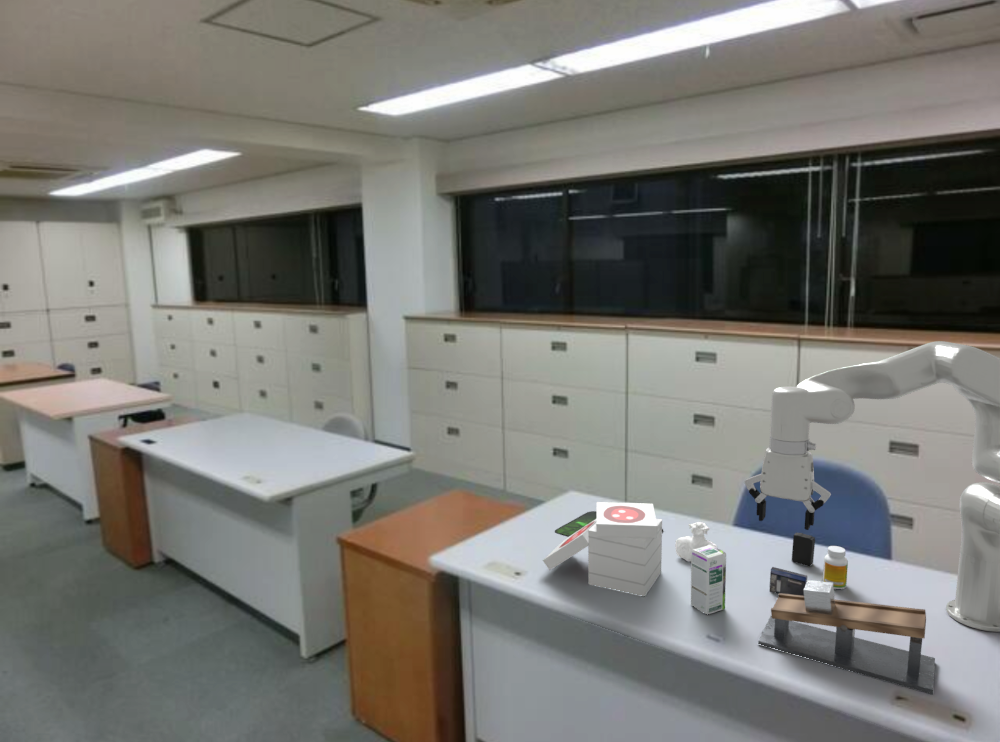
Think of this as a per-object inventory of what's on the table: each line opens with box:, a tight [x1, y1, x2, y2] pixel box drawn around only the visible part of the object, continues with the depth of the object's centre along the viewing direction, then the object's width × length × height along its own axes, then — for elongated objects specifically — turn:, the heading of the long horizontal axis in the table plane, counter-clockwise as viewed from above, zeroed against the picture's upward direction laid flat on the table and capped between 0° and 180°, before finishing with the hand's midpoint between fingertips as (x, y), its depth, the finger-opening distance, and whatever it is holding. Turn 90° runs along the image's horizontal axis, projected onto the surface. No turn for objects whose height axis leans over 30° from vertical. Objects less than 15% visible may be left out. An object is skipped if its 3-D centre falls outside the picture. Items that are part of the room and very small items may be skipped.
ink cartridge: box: [791, 532, 816, 567], centre depth 183 cm, size 5×2×8 cm, turn 47°
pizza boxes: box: [542, 501, 663, 597], centre depth 179 cm, size 19×30×18 cm, turn 61°
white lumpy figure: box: [675, 521, 719, 563], centre depth 188 cm, size 12×8×11 cm
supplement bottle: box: [822, 545, 849, 590], centre depth 171 cm, size 5×5×10 cm
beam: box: [770, 593, 927, 640], centre depth 142 cm, size 28×9×3 cm, turn 56°
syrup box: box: [690, 545, 727, 616], centre depth 162 cm, size 6×6×14 cm
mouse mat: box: [554, 510, 664, 538], centre depth 208 cm, size 27×22×1 cm
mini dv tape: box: [769, 566, 808, 596], centre depth 167 cm, size 8×2×6 cm, turn 53°
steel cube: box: [804, 579, 836, 615], centre depth 144 cm, size 5×5×5 cm
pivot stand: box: [757, 615, 936, 695], centre depth 143 cm, size 32×12×8 cm, turn 57°
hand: (784, 523), depth 146 cm, fingers open, 8 cm apart
